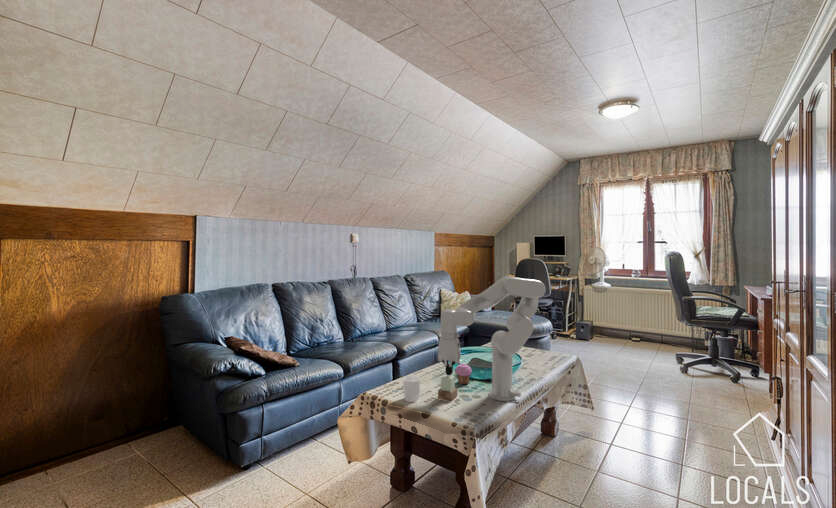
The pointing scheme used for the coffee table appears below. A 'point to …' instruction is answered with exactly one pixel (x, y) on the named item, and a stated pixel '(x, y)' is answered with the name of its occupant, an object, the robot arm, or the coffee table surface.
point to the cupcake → (463, 373)
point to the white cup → (411, 388)
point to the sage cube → (447, 383)
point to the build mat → (449, 401)
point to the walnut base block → (447, 394)
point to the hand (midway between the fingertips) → (449, 374)
